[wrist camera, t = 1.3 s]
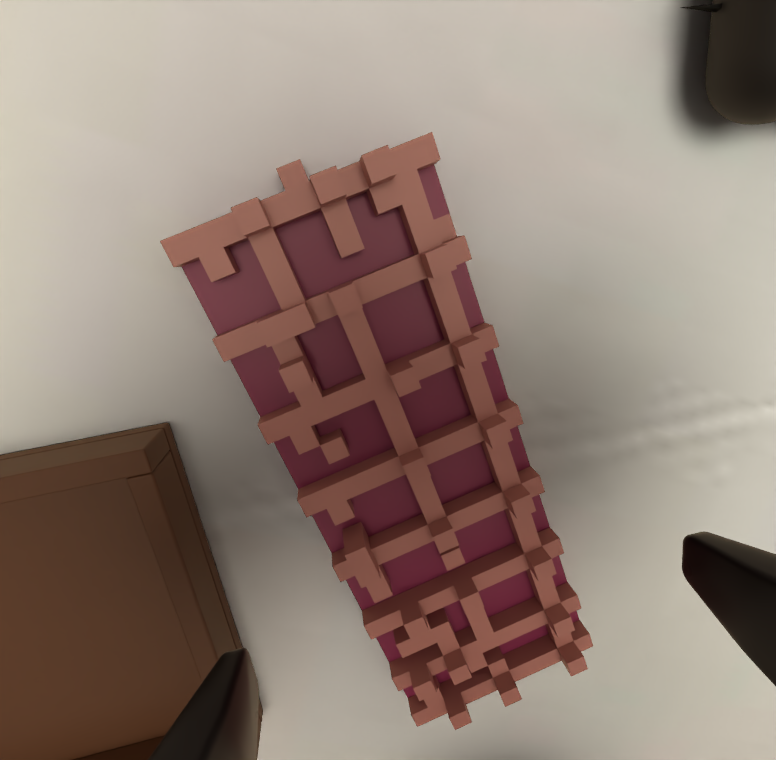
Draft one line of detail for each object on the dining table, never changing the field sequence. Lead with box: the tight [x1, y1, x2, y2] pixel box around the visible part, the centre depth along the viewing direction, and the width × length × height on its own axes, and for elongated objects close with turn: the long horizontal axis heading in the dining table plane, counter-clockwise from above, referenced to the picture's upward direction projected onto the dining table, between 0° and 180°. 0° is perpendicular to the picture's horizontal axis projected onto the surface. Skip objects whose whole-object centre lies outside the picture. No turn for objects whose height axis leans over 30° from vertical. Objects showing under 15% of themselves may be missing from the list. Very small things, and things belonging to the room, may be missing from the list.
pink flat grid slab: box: [160, 132, 593, 730], centre depth 14 cm, size 7×19×2 cm, turn 21°
